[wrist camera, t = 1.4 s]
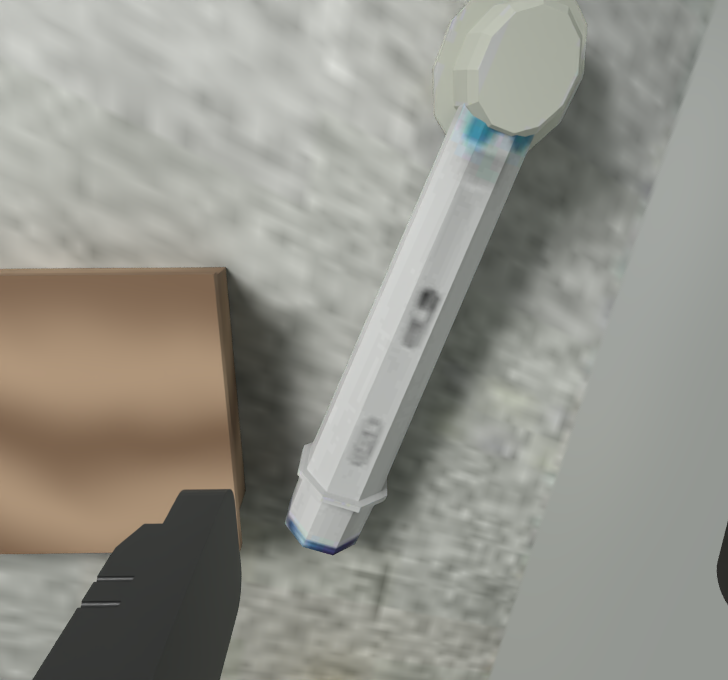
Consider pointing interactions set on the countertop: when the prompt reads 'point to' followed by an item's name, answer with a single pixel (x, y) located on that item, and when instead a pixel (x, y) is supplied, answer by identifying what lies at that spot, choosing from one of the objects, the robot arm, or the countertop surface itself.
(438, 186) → the white handheld device
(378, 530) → the countertop surface
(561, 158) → the countertop surface
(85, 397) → the stand
